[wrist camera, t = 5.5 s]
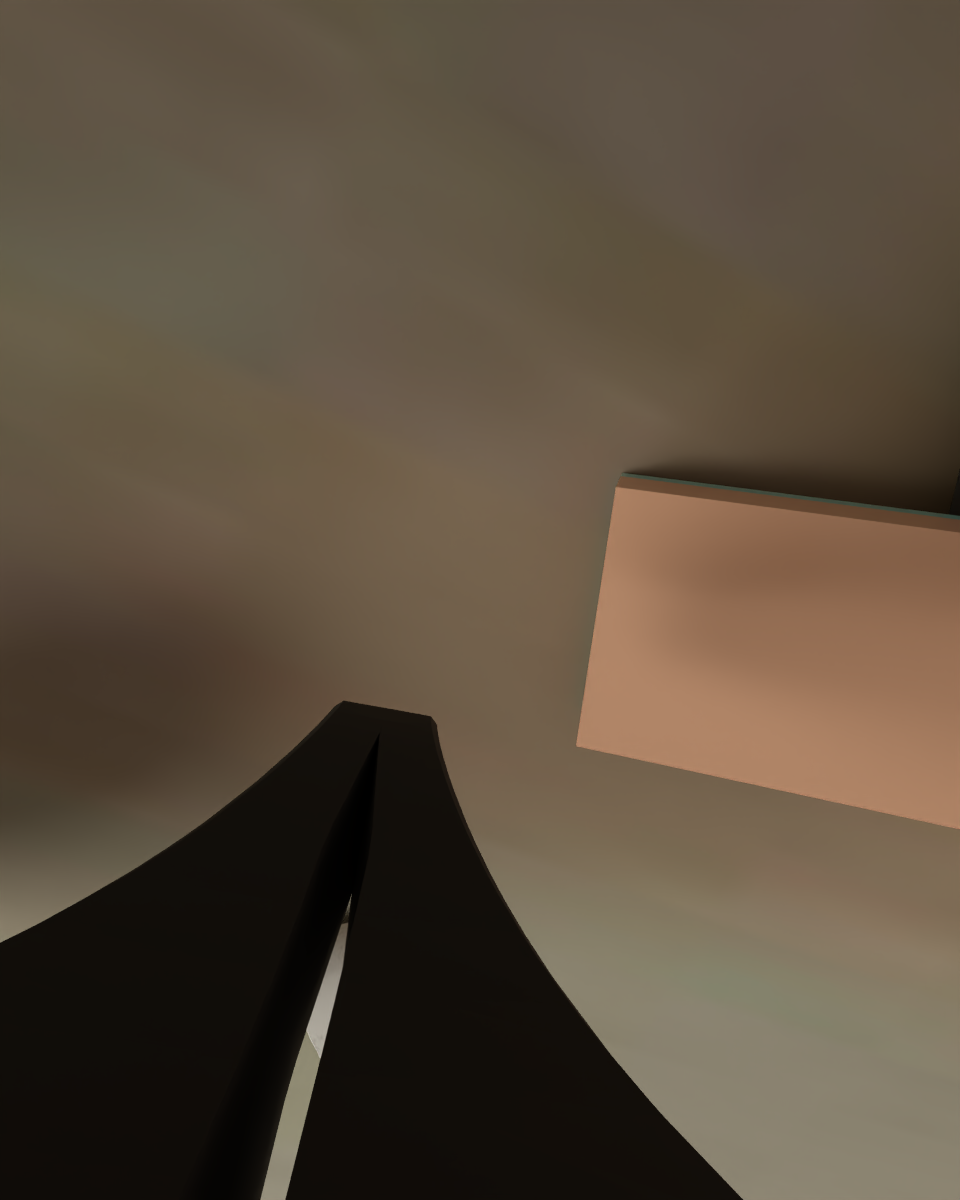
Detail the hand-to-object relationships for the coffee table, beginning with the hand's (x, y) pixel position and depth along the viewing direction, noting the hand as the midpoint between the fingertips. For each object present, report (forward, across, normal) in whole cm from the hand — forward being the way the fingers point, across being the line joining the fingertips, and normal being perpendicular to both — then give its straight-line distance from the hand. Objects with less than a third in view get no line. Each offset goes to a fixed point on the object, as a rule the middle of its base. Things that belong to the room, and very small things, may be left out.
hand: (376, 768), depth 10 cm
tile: (+5, -8, -1) cm, 9 cm away
